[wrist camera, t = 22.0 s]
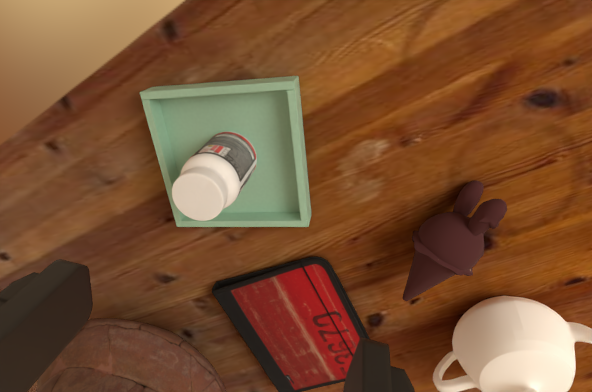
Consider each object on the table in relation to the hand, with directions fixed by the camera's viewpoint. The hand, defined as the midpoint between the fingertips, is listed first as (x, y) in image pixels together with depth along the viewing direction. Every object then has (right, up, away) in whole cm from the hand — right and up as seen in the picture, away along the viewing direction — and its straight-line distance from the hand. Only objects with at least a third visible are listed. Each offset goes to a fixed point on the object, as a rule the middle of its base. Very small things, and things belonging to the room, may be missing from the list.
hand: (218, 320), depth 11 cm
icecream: (+18, 0, +31) cm, 36 cm away
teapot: (+28, -12, +36) cm, 47 cm away
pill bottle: (-5, +8, +31) cm, 32 cm away
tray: (-4, +8, +31) cm, 32 cm away
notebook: (+3, -14, +41) cm, 44 cm away
